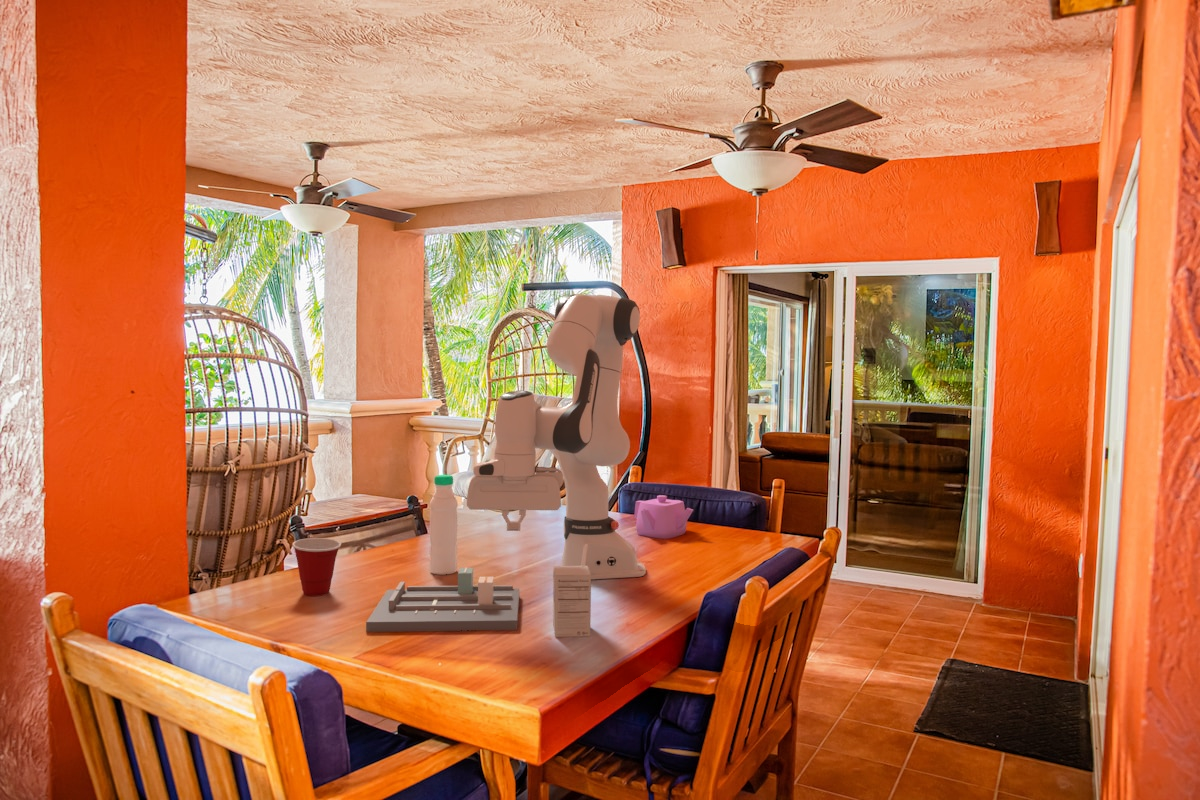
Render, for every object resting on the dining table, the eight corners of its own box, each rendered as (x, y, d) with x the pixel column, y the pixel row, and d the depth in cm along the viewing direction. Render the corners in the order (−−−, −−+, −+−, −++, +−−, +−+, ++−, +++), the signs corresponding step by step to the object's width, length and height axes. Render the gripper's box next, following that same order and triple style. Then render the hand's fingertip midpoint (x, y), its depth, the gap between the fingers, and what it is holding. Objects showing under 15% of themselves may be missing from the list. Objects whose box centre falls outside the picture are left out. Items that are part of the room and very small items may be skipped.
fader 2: (493, 599, 184) (493, 575, 183) (492, 605, 179) (492, 581, 178) (479, 599, 183) (479, 575, 183) (477, 605, 178) (478, 581, 178)
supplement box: (552, 625, 173) (553, 565, 172) (588, 625, 174) (589, 564, 173) (553, 637, 166) (554, 574, 165) (590, 637, 166) (591, 573, 166)
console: (519, 597, 194) (519, 580, 194) (516, 630, 170) (517, 610, 170) (387, 598, 191) (387, 581, 191) (366, 631, 167) (366, 612, 167)
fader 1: (473, 589, 191) (473, 567, 191) (471, 595, 186) (471, 572, 186) (459, 589, 191) (459, 567, 191) (457, 595, 186) (457, 572, 186)
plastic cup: (317, 602, 188) (317, 548, 187) (281, 595, 192) (281, 544, 192) (351, 590, 198) (351, 540, 197) (316, 584, 202) (316, 535, 202)
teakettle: (679, 528, 278) (680, 491, 278) (694, 538, 261) (695, 499, 261) (629, 529, 275) (630, 492, 275) (641, 540, 258) (641, 500, 258)
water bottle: (451, 576, 212) (451, 477, 211) (425, 574, 213) (425, 476, 212) (461, 569, 219) (461, 474, 218) (435, 567, 220) (436, 473, 219)
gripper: (562, 465, 184) (561, 528, 185) (468, 464, 183) (467, 527, 183) (563, 468, 178) (562, 533, 178) (466, 467, 176) (465, 532, 177)
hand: (513, 530), depth 181 cm, fingers closed
